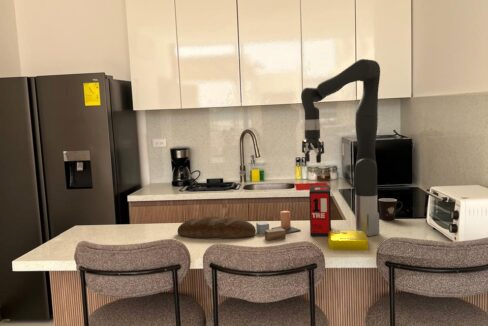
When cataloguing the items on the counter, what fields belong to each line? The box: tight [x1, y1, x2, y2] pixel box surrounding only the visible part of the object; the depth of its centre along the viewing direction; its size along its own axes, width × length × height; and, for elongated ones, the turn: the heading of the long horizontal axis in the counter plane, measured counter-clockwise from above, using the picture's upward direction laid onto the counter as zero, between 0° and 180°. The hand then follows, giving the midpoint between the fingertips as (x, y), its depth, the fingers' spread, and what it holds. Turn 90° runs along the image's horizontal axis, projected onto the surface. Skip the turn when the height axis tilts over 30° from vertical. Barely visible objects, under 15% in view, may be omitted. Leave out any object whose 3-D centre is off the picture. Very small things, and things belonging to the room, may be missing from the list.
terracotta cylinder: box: [280, 210, 292, 230], centre depth 193 cm, size 4×4×8 cm
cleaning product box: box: [308, 185, 332, 238], centre depth 187 cm, size 16×9×20 cm, turn 168°
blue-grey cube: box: [255, 221, 270, 235], centre depth 190 cm, size 4×4×4 cm
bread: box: [177, 216, 257, 240], centre depth 189 cm, size 16×36×8 cm, turn 80°
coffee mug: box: [378, 197, 404, 222], centre depth 206 cm, size 12×9×10 cm
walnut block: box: [264, 228, 287, 242], centre depth 180 cm, size 4×8×4 cm, turn 110°
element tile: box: [327, 229, 369, 252], centre depth 167 cm, size 15×15×5 cm
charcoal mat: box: [270, 225, 302, 235], centre depth 193 cm, size 11×9×1 cm
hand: (312, 162), depth 204 cm, fingers open, 8 cm apart
